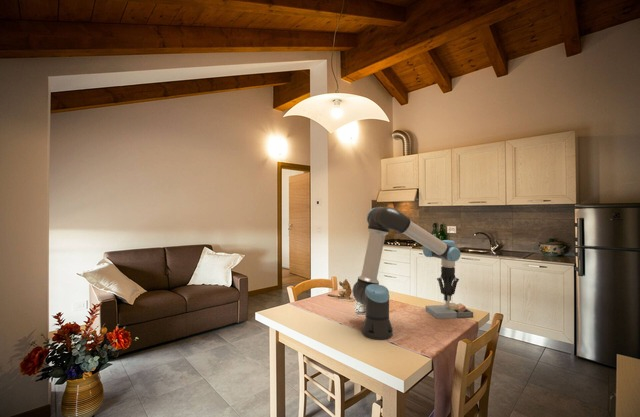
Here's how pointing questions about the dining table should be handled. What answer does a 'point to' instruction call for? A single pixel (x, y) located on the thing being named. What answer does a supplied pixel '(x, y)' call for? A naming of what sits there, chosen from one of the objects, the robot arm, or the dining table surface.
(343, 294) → the wooden toy
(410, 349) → the dining table surface
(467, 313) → the box
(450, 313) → the plate
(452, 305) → the tile
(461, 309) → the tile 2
